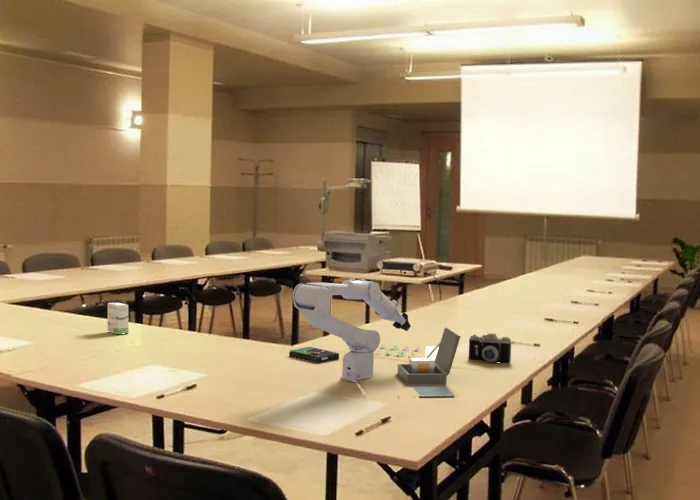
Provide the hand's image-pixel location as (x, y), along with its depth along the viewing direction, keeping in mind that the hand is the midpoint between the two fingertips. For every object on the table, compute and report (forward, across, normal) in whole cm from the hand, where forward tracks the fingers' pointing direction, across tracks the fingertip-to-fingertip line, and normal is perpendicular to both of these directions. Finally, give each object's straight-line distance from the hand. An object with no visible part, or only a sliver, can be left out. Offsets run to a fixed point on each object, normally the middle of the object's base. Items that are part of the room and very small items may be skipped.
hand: (400, 323), depth 251 cm
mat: (-8, -33, +12) cm, 36 cm away
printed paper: (+27, +15, +8) cm, 32 cm away
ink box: (-17, +95, +70) cm, 119 cm away
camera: (+35, -13, -10) cm, 38 cm away
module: (-1, -21, +10) cm, 23 cm away
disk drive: (+2, +22, +28) cm, 36 cm away
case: (+1, -22, +10) cm, 24 cm away
